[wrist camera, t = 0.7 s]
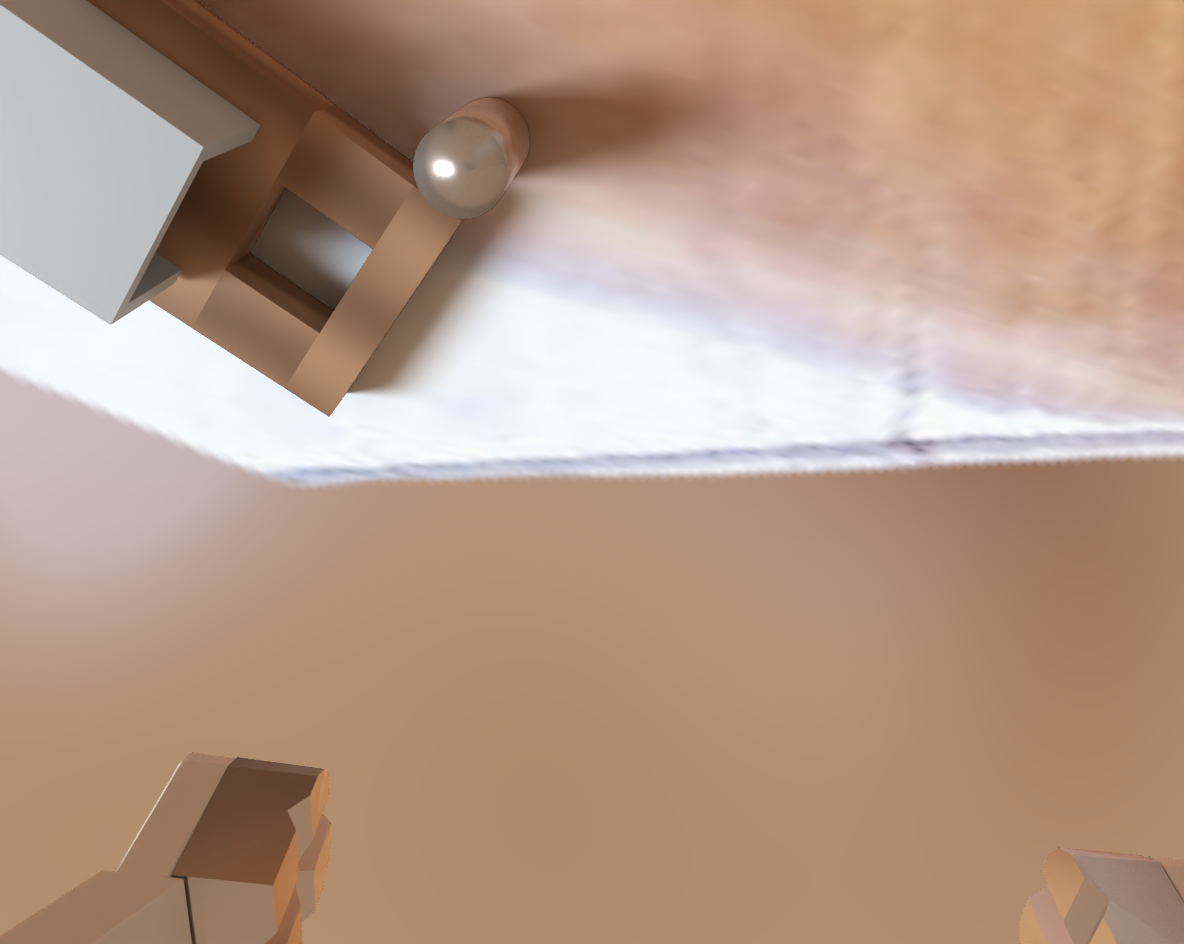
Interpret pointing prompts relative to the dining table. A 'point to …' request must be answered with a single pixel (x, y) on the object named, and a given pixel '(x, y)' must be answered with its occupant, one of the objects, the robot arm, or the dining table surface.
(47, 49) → the housing cap
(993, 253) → the dining table surface
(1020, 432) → the dining table surface
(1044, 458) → the dining table surface
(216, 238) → the socket block
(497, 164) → the stub peg
